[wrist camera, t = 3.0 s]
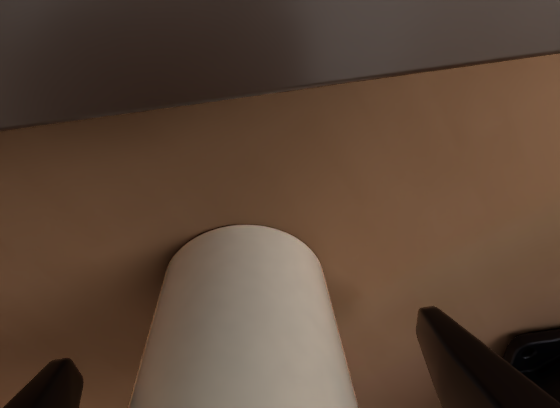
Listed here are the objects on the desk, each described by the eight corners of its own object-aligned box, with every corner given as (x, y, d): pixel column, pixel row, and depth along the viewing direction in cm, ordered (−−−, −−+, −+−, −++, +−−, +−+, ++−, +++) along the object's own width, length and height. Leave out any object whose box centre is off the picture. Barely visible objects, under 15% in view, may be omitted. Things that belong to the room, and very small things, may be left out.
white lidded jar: (319, 212, 10) (414, 512, 4) (328, 331, 12) (394, 617, 7) (141, 237, 10) (4, 571, 4) (186, 351, 12) (137, 654, 7)
